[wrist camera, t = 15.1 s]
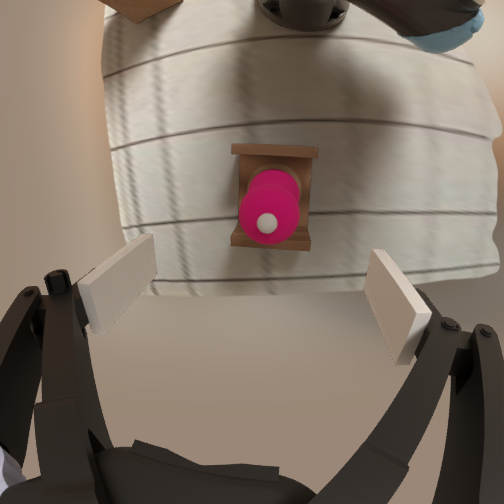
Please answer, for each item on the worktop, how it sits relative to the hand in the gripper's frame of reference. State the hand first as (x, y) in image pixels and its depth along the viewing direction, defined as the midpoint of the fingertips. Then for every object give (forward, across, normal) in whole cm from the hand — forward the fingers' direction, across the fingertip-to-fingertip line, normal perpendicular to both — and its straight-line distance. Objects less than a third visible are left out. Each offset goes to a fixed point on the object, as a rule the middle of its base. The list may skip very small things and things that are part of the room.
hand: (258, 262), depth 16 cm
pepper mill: (+28, 0, 0) cm, 28 cm away
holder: (+29, 0, 0) cm, 29 cm away
